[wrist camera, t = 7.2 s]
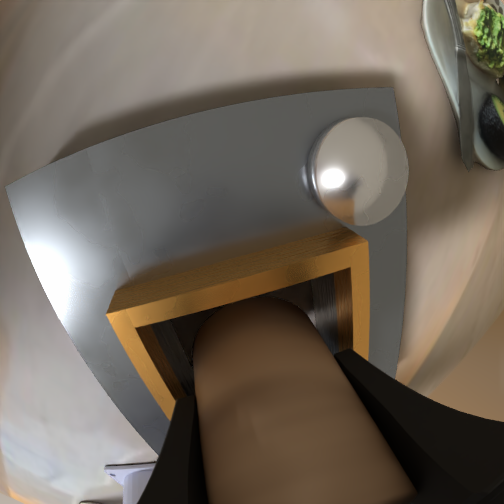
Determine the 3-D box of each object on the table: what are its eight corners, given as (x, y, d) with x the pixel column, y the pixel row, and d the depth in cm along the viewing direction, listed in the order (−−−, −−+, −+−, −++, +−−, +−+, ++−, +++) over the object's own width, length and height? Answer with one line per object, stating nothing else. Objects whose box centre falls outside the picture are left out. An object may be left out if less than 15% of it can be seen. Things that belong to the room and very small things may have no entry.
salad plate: (350, -35, 9) (386, -62, 6) (470, -39, 9) (500, -48, 5) (456, 196, 15) (498, 212, 12) (535, 124, 15) (566, 131, 11)
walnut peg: (318, 372, 13) (397, 518, 6) (213, 402, 13) (245, 567, 5) (307, 280, 11) (442, 462, 4) (174, 317, 11) (183, 547, 3)
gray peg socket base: (368, 381, 19) (399, 426, 15) (175, 438, 17) (178, 493, 13) (353, 93, 12) (419, 84, 7) (40, 173, 10) (-19, 196, 6)
